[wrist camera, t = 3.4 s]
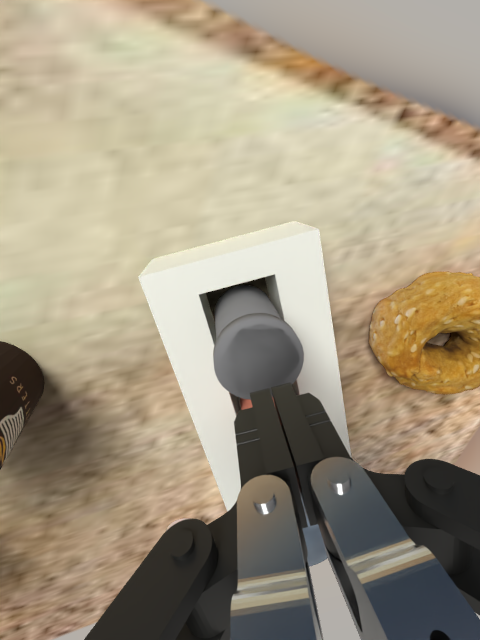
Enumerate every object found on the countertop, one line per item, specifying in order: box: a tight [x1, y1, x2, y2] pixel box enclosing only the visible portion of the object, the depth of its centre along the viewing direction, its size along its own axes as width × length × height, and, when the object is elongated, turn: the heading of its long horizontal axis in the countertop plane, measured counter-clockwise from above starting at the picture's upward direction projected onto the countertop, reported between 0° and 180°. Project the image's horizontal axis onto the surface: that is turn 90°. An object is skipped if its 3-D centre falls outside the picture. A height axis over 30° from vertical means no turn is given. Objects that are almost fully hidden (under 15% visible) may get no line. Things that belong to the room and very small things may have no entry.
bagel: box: [369, 272, 480, 395], centre depth 24 cm, size 10×11×5 cm
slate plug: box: [300, 494, 328, 566], centre depth 22 cm, size 4×4×6 cm
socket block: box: [138, 221, 351, 512], centre depth 24 cm, size 21×10×5 cm, turn 14°
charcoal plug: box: [213, 285, 304, 400], centre depth 17 cm, size 4×4×6 cm
